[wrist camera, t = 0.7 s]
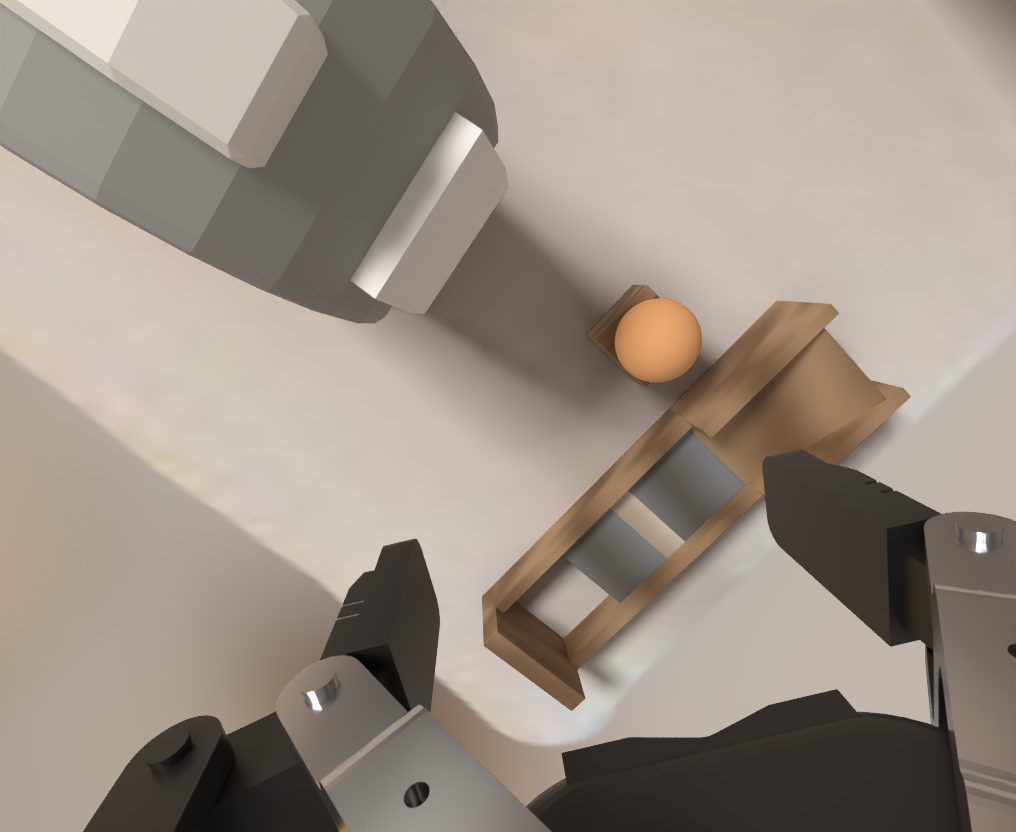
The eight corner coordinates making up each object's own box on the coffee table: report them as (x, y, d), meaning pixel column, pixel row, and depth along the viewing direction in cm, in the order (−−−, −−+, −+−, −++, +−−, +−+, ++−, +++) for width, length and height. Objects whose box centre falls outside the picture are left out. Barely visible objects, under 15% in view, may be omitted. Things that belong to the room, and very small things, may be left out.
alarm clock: (508, 200, 30) (581, 41, 10) (426, 324, 31) (350, 395, 12) (216, -26, 26) (-545, -942, 7) (138, 126, 28) (-680, -258, 8)
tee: (632, 285, 31) (647, 285, 29) (676, 330, 32) (695, 335, 29) (586, 334, 32) (596, 339, 29) (630, 378, 33) (644, 386, 30)
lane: (776, 300, 32) (831, 304, 27) (847, 380, 34) (910, 396, 29) (482, 596, 36) (483, 645, 31) (558, 655, 37) (571, 710, 33)
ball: (645, 280, 29) (675, 279, 25) (697, 334, 30) (734, 343, 26) (589, 339, 30) (609, 348, 25) (642, 390, 30) (670, 407, 26)
